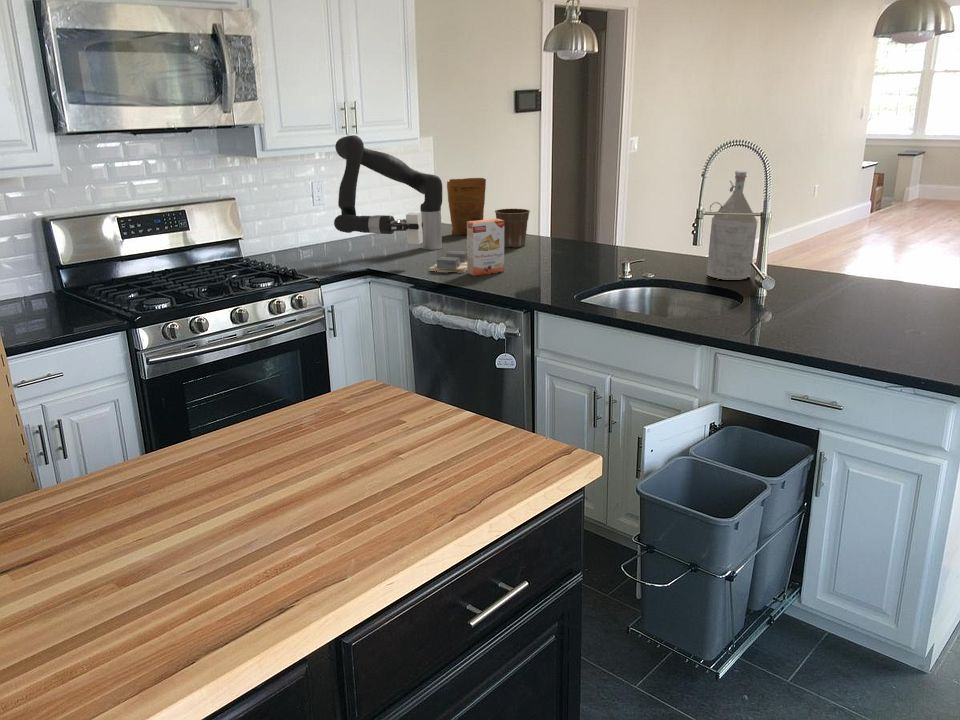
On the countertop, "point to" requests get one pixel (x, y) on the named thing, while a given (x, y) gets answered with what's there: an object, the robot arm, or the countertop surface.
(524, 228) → the plant pot
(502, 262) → the cracker box
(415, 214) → the white block
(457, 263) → the board
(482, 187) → the pancake mix bag
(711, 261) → the grey jug
